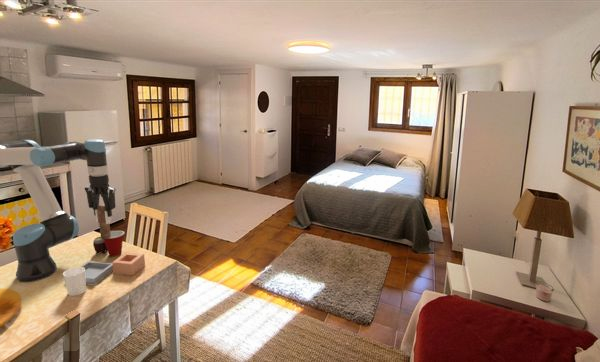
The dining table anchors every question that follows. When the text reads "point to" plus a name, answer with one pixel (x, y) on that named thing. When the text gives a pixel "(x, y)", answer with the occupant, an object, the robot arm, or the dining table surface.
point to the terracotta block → (128, 263)
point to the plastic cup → (114, 243)
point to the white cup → (75, 280)
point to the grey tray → (96, 271)
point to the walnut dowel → (103, 222)
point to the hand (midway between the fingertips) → (104, 222)
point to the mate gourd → (99, 245)
